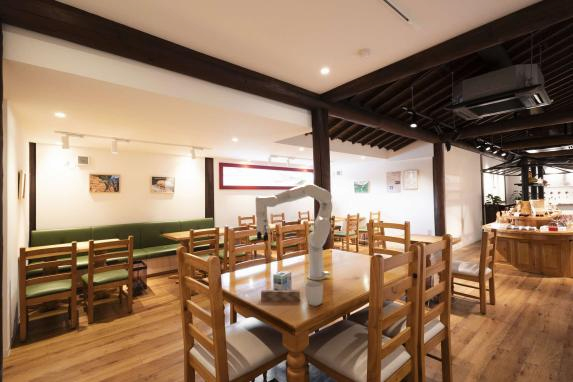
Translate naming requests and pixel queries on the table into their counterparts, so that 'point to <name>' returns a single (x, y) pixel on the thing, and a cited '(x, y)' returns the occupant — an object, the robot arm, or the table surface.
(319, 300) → the mug
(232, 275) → the table surface
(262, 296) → the walnut board
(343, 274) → the table surface
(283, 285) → the light bulb box
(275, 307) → the table surface
